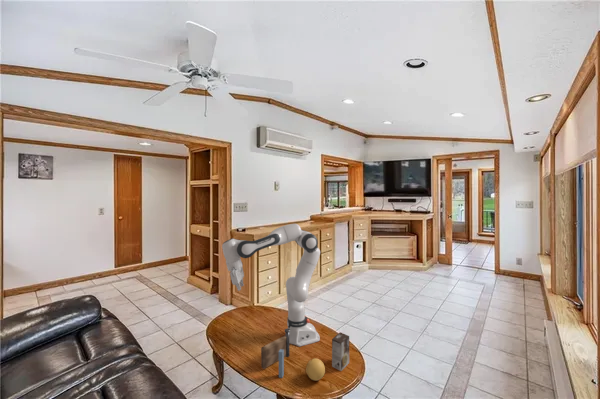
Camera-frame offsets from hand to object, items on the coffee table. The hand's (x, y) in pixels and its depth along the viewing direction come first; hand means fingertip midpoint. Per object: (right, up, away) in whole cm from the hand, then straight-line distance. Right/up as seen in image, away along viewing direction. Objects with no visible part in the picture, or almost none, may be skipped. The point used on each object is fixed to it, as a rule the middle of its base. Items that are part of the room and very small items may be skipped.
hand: (241, 288), depth 164 cm
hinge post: (+28, -40, -1) cm, 49 cm away
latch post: (+25, -41, -19) cm, 52 cm away
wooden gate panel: (+21, -39, -8) cm, 45 cm away
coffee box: (+58, -41, -10) cm, 72 cm away
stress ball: (+44, -41, -21) cm, 63 cm away
